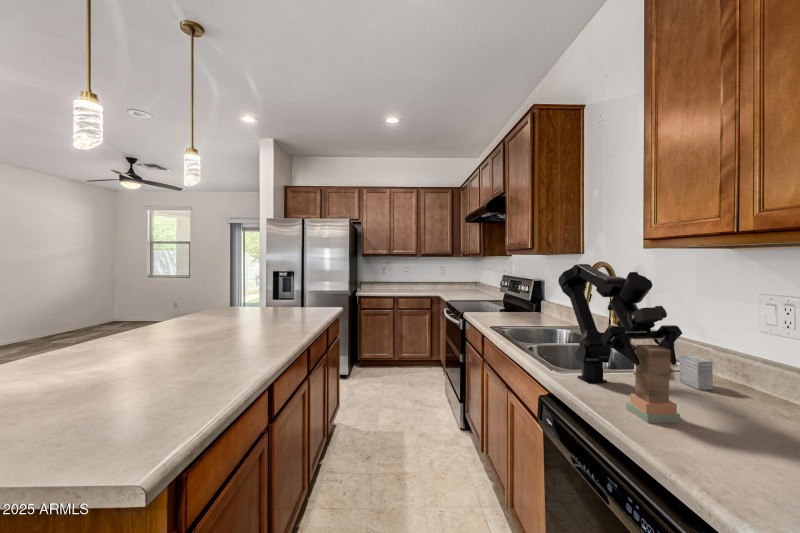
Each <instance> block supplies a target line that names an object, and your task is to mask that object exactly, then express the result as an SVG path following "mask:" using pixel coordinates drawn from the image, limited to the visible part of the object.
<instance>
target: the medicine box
mask: <svg viewBox="0 0 800 533" xmlns="http://www.w3.org/2000/svg"><path fill="white" fill-rule="evenodd" d="M713 378H714V376H713V361H712V360H708V359H706V358H705V359H704V358H702V357H699V356H695V355H692V354H691V355H688V354H686V355H680V356H679V382H680V383H681V384H684V385H687V386H690V387H692V388H694V389H695V390H696V389H697V390H698V391H712V390H714V380H713Z"/></svg>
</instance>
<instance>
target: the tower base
mask: <svg viewBox="0 0 800 533" xmlns="http://www.w3.org/2000/svg"><path fill="white" fill-rule="evenodd" d="M625 406H626V411H628V412H630V413H631V414H633V415H634V416H636V417H638V418H639V419H641V420H642V421H644V422H646V423H647V424H650V423H651V424H654V423H681V414H680V413H679V412H677V415H672V414H646V413H644V412H643V411H642V410H640V409H639V408H637V407H636V406H634V405H633V404H631V401H630V402H626V405H625Z"/></svg>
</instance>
